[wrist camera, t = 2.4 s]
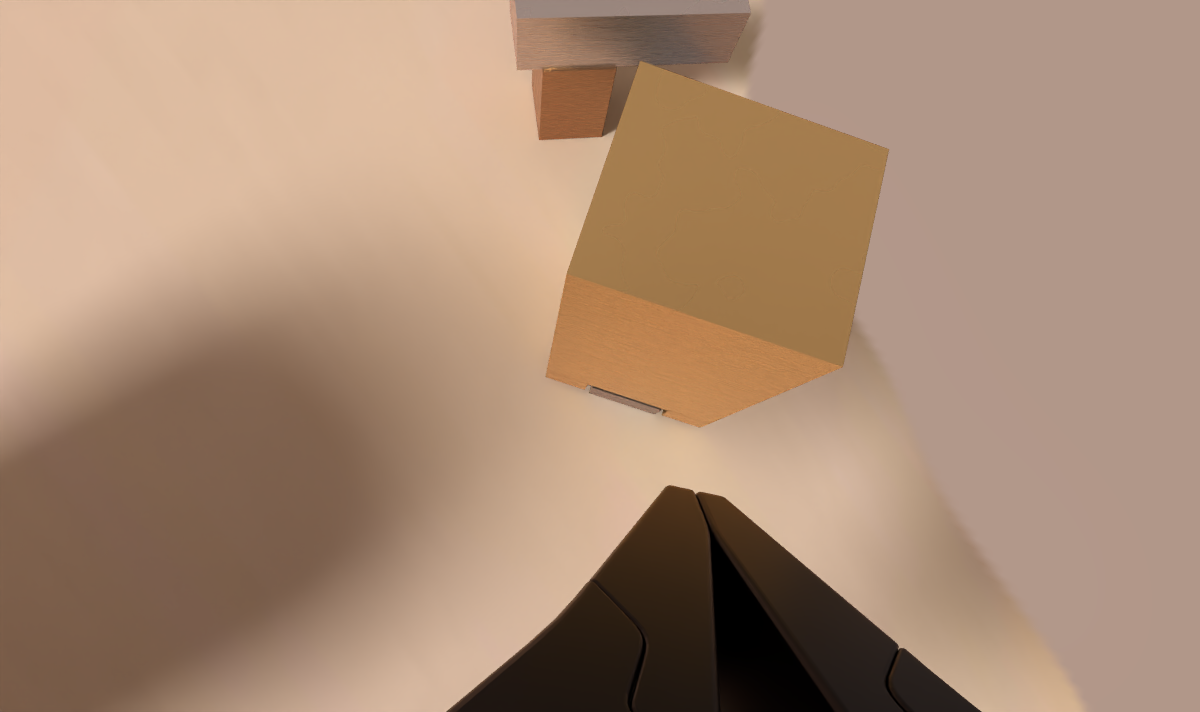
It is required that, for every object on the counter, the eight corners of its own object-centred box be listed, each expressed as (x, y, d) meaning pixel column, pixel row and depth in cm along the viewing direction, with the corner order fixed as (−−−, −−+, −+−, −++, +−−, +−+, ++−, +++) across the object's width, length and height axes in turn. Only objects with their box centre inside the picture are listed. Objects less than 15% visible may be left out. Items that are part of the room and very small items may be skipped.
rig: (654, 414, 22) (703, 381, 16) (411, 334, 22) (371, 270, 16) (744, 100, 25) (812, -21, 20) (536, 26, 25) (540, -121, 19)
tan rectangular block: (699, 427, 22) (842, 366, 12) (545, 377, 22) (566, 273, 12) (734, 297, 23) (888, 149, 13) (589, 248, 23) (640, 60, 13)
